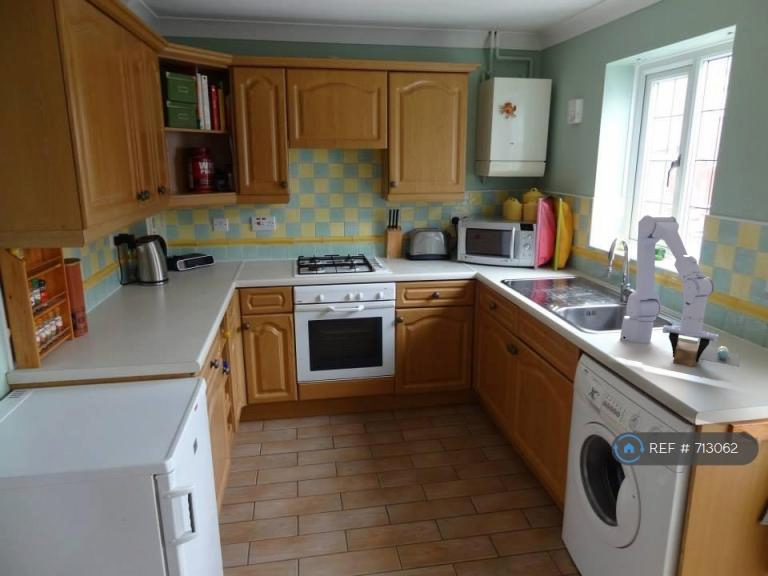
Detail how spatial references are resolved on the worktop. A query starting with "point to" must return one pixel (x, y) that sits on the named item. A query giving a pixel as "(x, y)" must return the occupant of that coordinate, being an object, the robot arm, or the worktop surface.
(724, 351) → the marble
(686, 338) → the white box
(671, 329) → the robot arm
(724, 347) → the marble
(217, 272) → the worktop surface
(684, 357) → the walnut box
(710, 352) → the board
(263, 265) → the worktop surface
